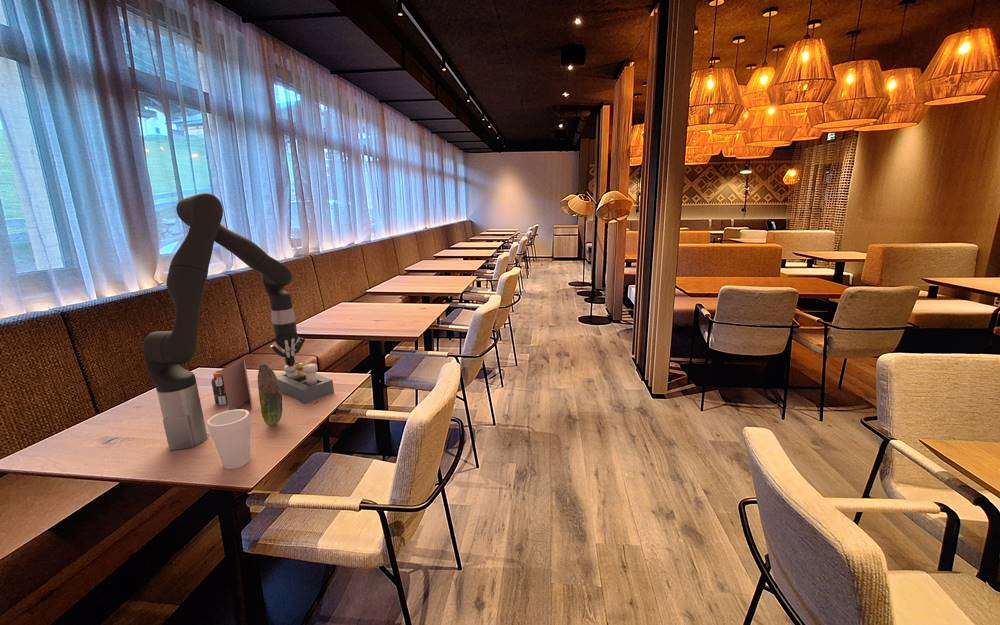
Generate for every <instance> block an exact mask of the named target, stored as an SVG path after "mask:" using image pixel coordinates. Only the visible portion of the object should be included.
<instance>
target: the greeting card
mask: <svg viewBox="0 0 1000 625" xmlns="http://www.w3.org/2000/svg"><path fill="white" fill-rule="evenodd" d="M221 370H222V375H223V380H224V386H225V391H226V396H227V401H228V404H227V406H228V411H229V410H235V409H237V408H238V407H240V406H241V405H242V404H244V403H245V402H247V401H249V400H250V407H251V408H253V403H252V393H251V388H250V382H249V377H248V370H247V366H246V359H245V357H243V358H242V359H241V358H240V359H239V360H238V361H235V362H234V363H232V364H230V365H228V366H226V367H224V368H221Z"/></svg>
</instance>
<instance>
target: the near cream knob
mask: <svg viewBox="0 0 1000 625" xmlns="http://www.w3.org/2000/svg"><path fill="white" fill-rule="evenodd" d="M317 371H318V364H317V363H307V364H306V363H305V365H304V366H303V372H304V373H306V380H307V386H312V385H315V384H317V376H316V374H317Z"/></svg>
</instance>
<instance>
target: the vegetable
mask: <svg viewBox="0 0 1000 625" xmlns="http://www.w3.org/2000/svg"><path fill="white" fill-rule="evenodd" d="M276 376H277V375H276V373H275V372H274V371H273V370H272V368H270V367H269V366H268V365H267V364H265V363H261V364H259V366H258V371H257V386H258V387H257V388H258V389H257V390H258V399H259V406H260V412H261V417H262V419H263V421H264V423H265V424H266V425H268V426H269V427H273V426H276V425H277V424H279V422H280V421H281V419H282V417H283V416H282V414H283V395H282V394H283V393H281V389H280V386H279V383H278V380H277V377H276Z"/></svg>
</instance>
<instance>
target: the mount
mask: <svg viewBox="0 0 1000 625" xmlns="http://www.w3.org/2000/svg"><path fill="white" fill-rule="evenodd" d="M316 376H317V384H315V385H312V386H307V380H303V381H301V382H299V380H298V374H297V376H294V377H291V378H288V377H287V373H286V372H284V373H280V374H277V375H276V377H277V380H278V383H279V386H280V389H281V394H283V395H285V396H287V397H290V398H291V399H295V400H296V401H297V402H300V403H303V404H305V405H306V404H309V403H311V402H315V401H316V400H320V399H321V398H324V397H326V396H329V395H332V394H335V390H334V389H335V388H334V382H333V379H330V378H328V377H325V376H323V375H321V374H318V373H316ZM305 378H306V373H305Z"/></svg>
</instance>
